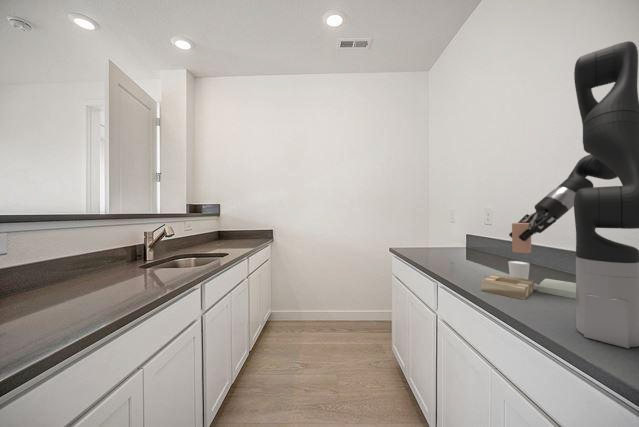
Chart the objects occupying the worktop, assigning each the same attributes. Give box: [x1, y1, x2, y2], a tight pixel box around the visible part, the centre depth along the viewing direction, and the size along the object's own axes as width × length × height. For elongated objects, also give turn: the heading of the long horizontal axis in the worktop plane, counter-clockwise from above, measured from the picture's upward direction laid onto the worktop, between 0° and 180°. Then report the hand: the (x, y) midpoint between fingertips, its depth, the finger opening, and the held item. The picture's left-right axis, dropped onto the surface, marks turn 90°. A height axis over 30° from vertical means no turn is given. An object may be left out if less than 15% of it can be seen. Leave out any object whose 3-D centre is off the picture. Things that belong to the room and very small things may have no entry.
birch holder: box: [480, 273, 536, 300], centre depth 86 cm, size 14×12×4 cm
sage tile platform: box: [537, 278, 576, 300], centre depth 84 cm, size 14×14×2 cm
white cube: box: [507, 260, 531, 279], centre depth 100 cm, size 7×7×7 cm
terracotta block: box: [511, 222, 532, 254], centre depth 86 cm, size 4×4×10 cm
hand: (516, 238), depth 86 cm, fingers closed on terracotta block, 6 cm apart
